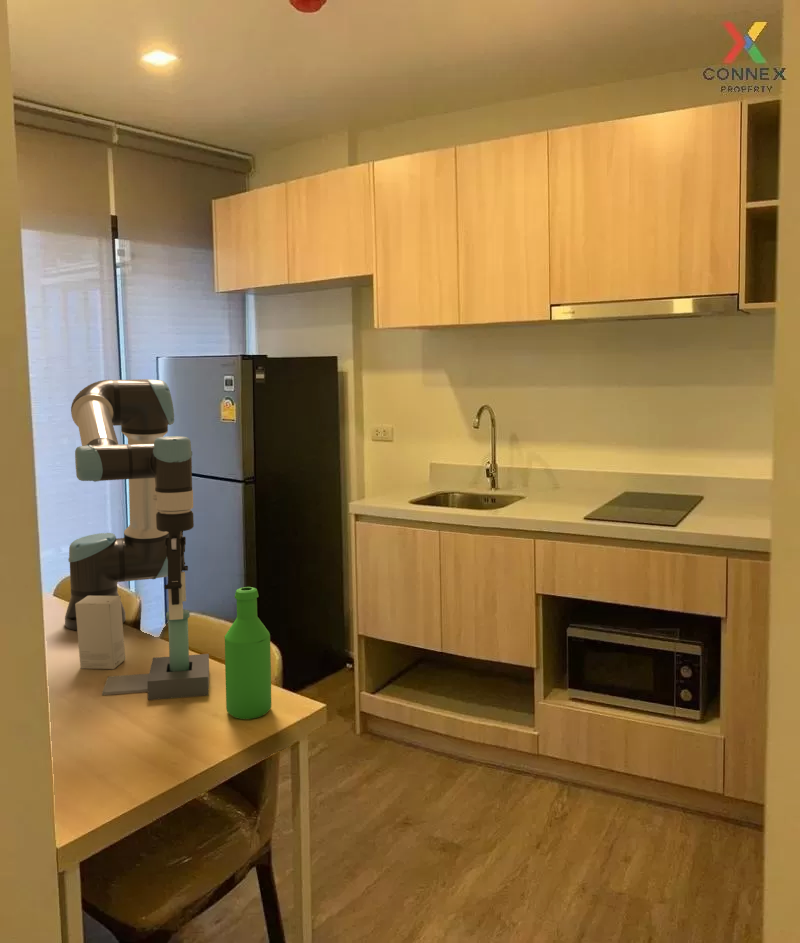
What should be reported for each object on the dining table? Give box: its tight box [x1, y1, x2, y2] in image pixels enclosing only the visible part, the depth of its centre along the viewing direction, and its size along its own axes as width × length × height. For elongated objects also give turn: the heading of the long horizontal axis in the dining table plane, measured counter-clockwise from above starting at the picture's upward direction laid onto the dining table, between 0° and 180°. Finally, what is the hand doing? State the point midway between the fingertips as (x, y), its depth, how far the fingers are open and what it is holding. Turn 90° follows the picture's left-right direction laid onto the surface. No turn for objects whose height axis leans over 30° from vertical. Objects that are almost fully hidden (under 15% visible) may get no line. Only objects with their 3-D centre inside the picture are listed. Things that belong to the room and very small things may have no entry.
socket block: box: [147, 653, 210, 701], centre depth 175 cm, size 14×12×4 cm
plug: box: [165, 608, 191, 672], centre depth 174 cm, size 5×5×16 cm
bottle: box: [224, 586, 272, 720], centre depth 160 cm, size 9×9×25 cm
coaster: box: [101, 673, 149, 696], centre depth 175 cm, size 9×9×1 cm
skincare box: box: [75, 595, 126, 670], centre depth 186 cm, size 8×7×16 cm
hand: (177, 610), depth 173 cm, fingers open, 13 cm apart
